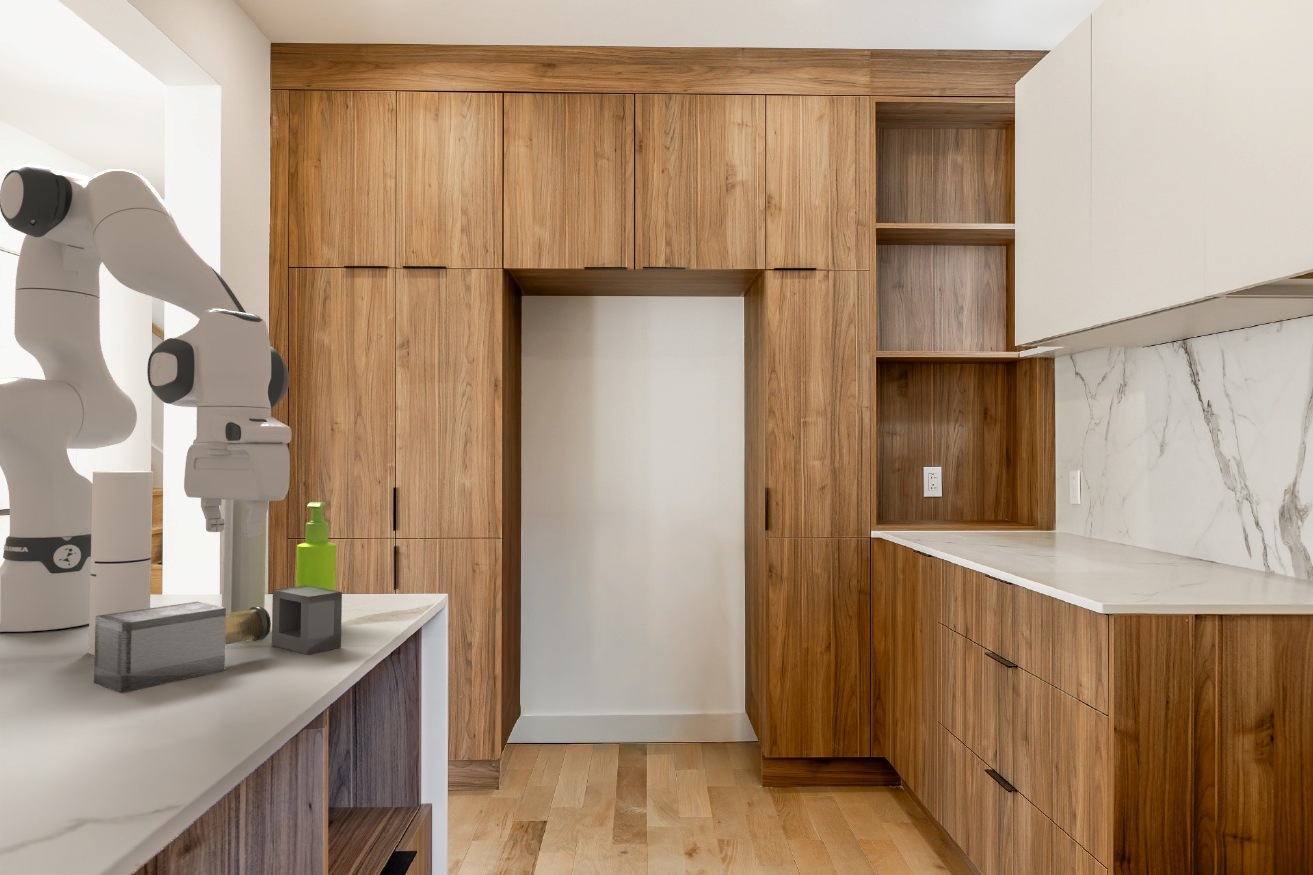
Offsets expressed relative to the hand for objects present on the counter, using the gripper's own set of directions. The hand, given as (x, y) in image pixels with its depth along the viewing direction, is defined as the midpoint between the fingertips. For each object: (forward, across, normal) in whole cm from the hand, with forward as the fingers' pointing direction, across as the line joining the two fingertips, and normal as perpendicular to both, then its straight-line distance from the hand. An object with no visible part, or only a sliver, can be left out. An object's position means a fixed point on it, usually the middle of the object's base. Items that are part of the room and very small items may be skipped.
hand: (233, 533), depth 109 cm
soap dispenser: (+17, -12, +19) cm, 28 cm away
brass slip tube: (+15, 0, -4) cm, 15 cm away
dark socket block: (+17, 0, +11) cm, 20 cm away
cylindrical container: (+17, -20, -6) cm, 26 cm away
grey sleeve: (+17, 0, -9) cm, 19 cm away
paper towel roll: (+17, -18, +10) cm, 27 cm away
